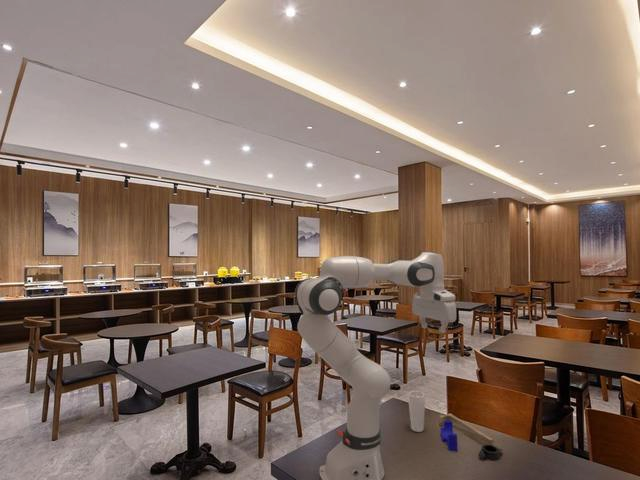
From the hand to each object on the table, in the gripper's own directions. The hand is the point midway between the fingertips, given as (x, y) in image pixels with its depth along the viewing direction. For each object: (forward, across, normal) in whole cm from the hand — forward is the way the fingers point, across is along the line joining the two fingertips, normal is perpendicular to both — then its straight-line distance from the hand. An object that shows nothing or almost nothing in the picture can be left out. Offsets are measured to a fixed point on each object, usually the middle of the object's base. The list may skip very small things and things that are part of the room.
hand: (433, 330), depth 136 cm
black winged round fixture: (+46, +11, +16) cm, 50 cm away
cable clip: (+46, -3, +10) cm, 47 cm away
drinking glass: (+46, -16, +5) cm, 49 cm away
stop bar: (+46, -3, +19) cm, 50 cm away
